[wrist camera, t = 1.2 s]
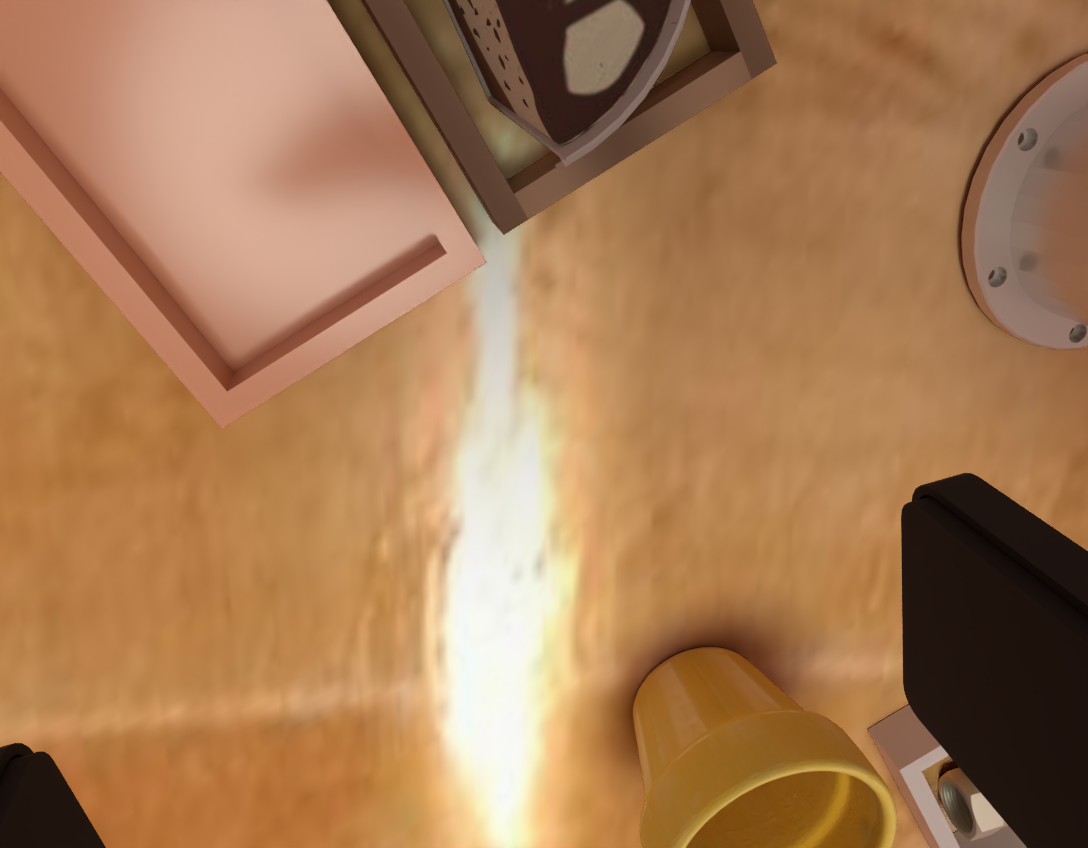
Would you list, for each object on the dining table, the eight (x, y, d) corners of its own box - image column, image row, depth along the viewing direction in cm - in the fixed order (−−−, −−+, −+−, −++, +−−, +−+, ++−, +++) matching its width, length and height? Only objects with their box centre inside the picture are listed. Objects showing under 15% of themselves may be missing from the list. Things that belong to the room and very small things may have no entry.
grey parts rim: (1089, 595, 47) (1135, 629, 44) (1132, 738, 52) (1175, 775, 50) (867, 729, 47) (899, 770, 44) (934, 855, 53) (966, 898, 50)
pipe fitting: (934, 713, 49) (935, 804, 51) (980, 760, 45) (979, 855, 48) (1060, 676, 50) (1055, 766, 52) (1114, 719, 46) (1107, 814, 49)
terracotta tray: (170, -254, 25) (152, -285, 22) (476, 247, 32) (486, 262, 30) (-148, -47, 25) (-195, -56, 23) (229, 402, 33) (221, 428, 30)
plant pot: (768, 769, 47) (866, 936, 38) (585, 786, 44) (645, 968, 36) (809, 609, 43) (929, 753, 34) (611, 618, 40) (685, 775, 32)
